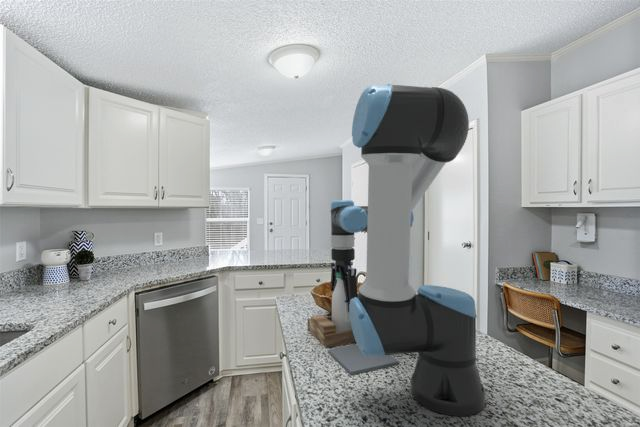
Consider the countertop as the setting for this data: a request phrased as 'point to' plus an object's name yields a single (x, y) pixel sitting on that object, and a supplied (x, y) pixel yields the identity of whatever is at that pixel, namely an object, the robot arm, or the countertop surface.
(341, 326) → the milk bottle
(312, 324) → the frame
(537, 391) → the countertop surface
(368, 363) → the rubber mat
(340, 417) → the countertop surface
